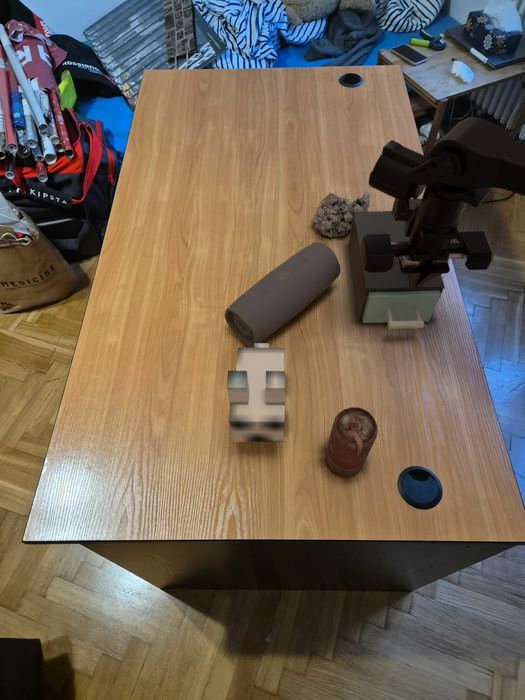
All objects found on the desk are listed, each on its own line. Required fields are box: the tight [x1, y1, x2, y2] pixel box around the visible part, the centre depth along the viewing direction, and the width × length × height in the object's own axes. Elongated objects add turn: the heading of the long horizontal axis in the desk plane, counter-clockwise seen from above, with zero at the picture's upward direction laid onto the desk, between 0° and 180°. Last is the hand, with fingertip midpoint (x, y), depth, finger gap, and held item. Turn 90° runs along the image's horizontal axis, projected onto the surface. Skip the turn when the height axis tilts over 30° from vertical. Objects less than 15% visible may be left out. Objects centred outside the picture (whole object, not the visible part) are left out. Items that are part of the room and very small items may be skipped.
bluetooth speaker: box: [224, 241, 342, 347], centre depth 88 cm, size 23×9×10 cm, turn 134°
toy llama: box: [226, 342, 286, 443], centre depth 72 cm, size 8×18×20 cm, turn 179°
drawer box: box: [347, 210, 445, 322], centre depth 91 cm, size 20×14×10 cm
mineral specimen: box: [309, 191, 371, 238], centre depth 101 cm, size 12×9×10 cm
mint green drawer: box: [362, 290, 442, 330], centre depth 89 cm, size 23×12×8 cm, turn 1°
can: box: [324, 406, 379, 478], centre depth 69 cm, size 6×6×14 cm
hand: (411, 287), depth 78 cm, fingers closed
